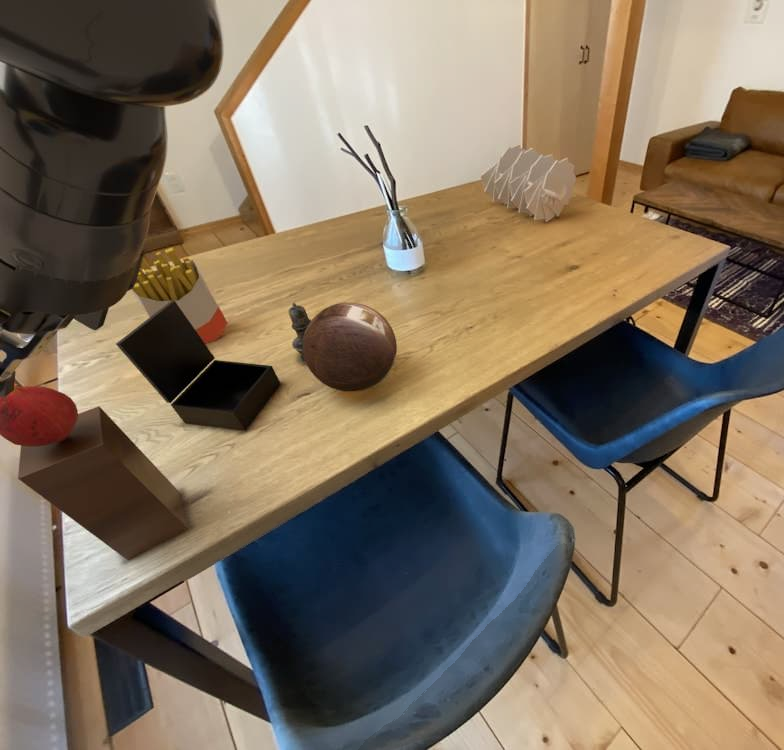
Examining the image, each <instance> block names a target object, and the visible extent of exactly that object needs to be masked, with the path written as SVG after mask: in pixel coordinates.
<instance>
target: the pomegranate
mask: <svg viewBox="0 0 784 750" xmlns="http://www.w3.org/2000/svg"><path fill="white" fill-rule="evenodd" d="M77 407H78V406H77V405H76V403H75V401H74V400H73V399H72V398H71V397H70V396H69V395H67V394H66V393H63V392H61V391H59V390H56V389H54V388H51V387H47V386H39V385H27V386H19V385H18V383H16V382H14V391H12V392H11V393H10V394H8V395H7V396H6V397H0V436H1V437H2V438H4V439H5V440H7V441H8V442H10V443H11V444H14V445H16V446H20V447H21V446H29V447H38V446H45V445H49V444H53V443H56V442H61V441H64V440H65V439H67V438H68V436H69V435H70V432H71V431H72V430H73V428H74V426H75V424H76V421H77V419H78V414H79V412H78V411H79V410H78V408H77Z"/></svg>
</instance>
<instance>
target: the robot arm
mask: <svg viewBox="0 0 784 750" xmlns="http://www.w3.org/2000/svg"><path fill="white" fill-rule="evenodd" d="M224 41H225V39H224V31H223V26H222V21H221V16H220V12H219V8H218V4H217V0H0V351H2V352H3V353H5V355H6V356H5V357H4V359H3V360H2V361H1V360H0V397H6V396H7V395H8V394H10V393H11V392H12V391H14V383H16V382H15V381H16V372H17V371H16V370H17V368H19V366H20V365H21V364H22V363H23V361H24V360H27V359H31V358H33V357H38V356H39V355H40V354H41V353H42V351H43V350H44V349H45V348H46V347H47V346H48V344H49V343H50V342H51V340H52V339H53V338H54V337H55V336H56V334H57V333H58V332H59V331H60V330H64V329H66V328H67V327H68V326H69V325H70V324H71V322H73V320H74V321H77V322H79V323H80V324H82V325H83V326H85V327H87V328H89V329H90V330H92V331H98V330H99V329H100V328H102V327H103V326H104V325H105V321H106V318H107V315H108V312H109V309H110V308H111V307H113V306H114V305H117V304H118V303H119V302H120V301H121V300H122V299H123V298H124V297H125V296H126V295H127V292H129V291H131V289H133V288H134V285H135V283H136V280H137V277H138V273H139V270H140V267H142V266H141V263H142V260H143V257H144V256H145V253H146V250H145V249H144V245H145V243H146V240H147V236H148V233H149V228H150V225H151V224H150V223H151V210H152V206H153V202H154V200H155V197H156V194H157V192H158V187H159V185H160V182H161V180H162V176H163V174H164V169H165V165H166V162H167V156H168V146H169V141H168V140H169V134H168V122H167V115H166V114H167V113H166V107H170V106H171V107H172V106H178V105H183V104H186V103H188V102H191V101H193V100H197V99H198V98H200V97H202V96H203V95H205V94H206V93H207V92H208V91H210V89H211V88H212V87H213V85H214V84H215V83H216V81H217V80H218V78H219V76H220V74H221V71H222V67H223V62H224V54H225V42H224ZM14 334H21V335H30V336H31V335H32V338H30V340H29V341H28V342H27V341H25V340H24V339H22V338H19V337H18V336H16V335H14Z"/></svg>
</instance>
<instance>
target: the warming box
mask: <svg viewBox="0 0 784 750" xmlns="http://www.w3.org/2000/svg"><path fill="white" fill-rule="evenodd" d="M281 385H282V382H281V381H280V379H279V377H278V375H277V373H276V371H275V369H274V367H273V366H272V365H267V364H258V363H247V362H238V361H229V360H220V359H219V360H218V359H214V360H213V361H212V362H211V363H210V364H209V365H208V366H207V367H206V368H205V369H204V370H203V371H202V372H201V373H200V374H199V375H198V376H197V377H196V378H195V379H194V380H193V381H192V382H191V383H190V384H189V385H188V386H187V387H186V388H185V389H184V390H183V391H182V392H181V393H180V394H179V395H178V396H177V397H176V398H175V399H174V400H173V401H172V402H171V403H170V406H171V408H172V409H173V410H174V411H175V413H176V414H177V415H178V416H179V418H180V419H181V420H182V422H183V423H184V424H186V425H193V426H201V427H202V426H203V427H210V428H218V429H226V430H233V431H240V432H241V431H242V432H247V430H248V429H249V427H250V426H251V425H252V423H253V422H254V421H255V419H256V418H257V417H258V416H259V414H260V413H261V412H262V410H263V409H264V408H265V406H266V405H267V404H268V402H269V401H270V400H271V398H273V396H274V395H275V393H276V392H277V391H278V389H280V387H281Z"/></svg>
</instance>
